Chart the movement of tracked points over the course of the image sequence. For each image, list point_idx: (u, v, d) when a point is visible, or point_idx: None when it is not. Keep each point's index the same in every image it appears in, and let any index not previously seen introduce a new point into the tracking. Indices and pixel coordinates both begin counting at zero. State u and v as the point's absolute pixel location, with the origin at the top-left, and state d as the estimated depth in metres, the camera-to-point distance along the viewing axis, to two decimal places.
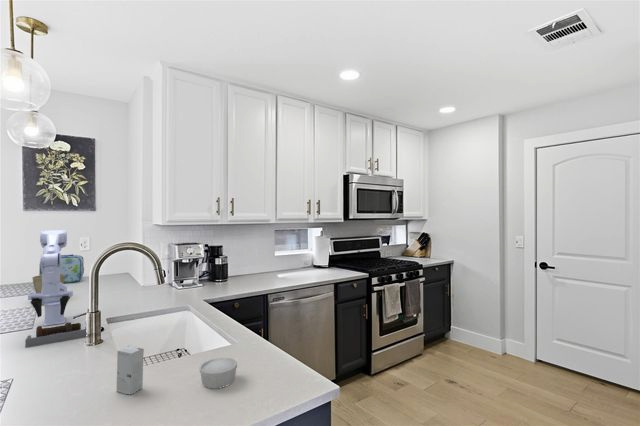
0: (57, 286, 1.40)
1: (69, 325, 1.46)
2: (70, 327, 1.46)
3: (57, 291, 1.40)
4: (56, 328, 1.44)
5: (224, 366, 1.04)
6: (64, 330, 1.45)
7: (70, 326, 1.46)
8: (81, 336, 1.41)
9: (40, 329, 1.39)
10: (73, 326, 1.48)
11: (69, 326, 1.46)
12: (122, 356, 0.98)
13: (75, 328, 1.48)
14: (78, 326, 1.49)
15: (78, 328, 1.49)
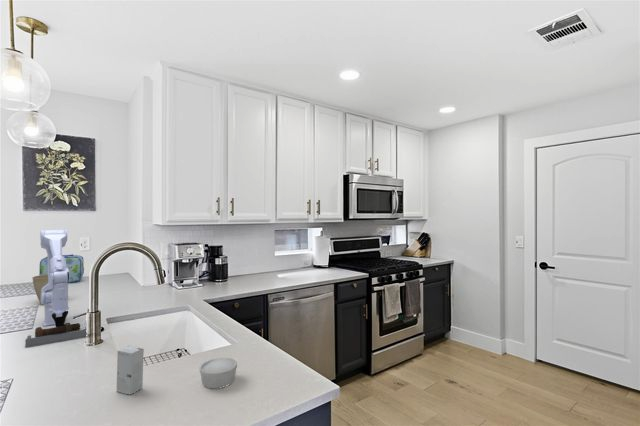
0: (56, 303, 1.45)
1: (69, 325, 1.46)
2: (70, 327, 1.46)
3: (56, 308, 1.45)
4: (56, 329, 1.43)
5: (224, 366, 1.04)
6: (64, 331, 1.45)
7: (70, 326, 1.46)
8: (81, 336, 1.41)
9: (40, 330, 1.38)
10: (73, 326, 1.47)
11: (69, 326, 1.46)
12: (122, 356, 0.98)
13: (75, 328, 1.48)
14: (78, 326, 1.49)
15: (78, 328, 1.49)
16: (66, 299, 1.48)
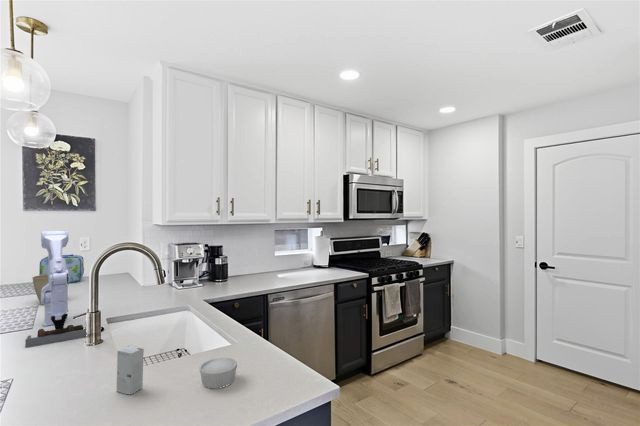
0: (55, 306, 1.41)
1: (72, 327, 1.43)
2: (73, 329, 1.43)
3: (55, 311, 1.41)
4: (58, 331, 1.40)
5: (224, 366, 1.04)
6: None
7: (73, 328, 1.43)
8: (81, 336, 1.41)
9: (42, 332, 1.36)
10: (75, 328, 1.45)
11: (72, 328, 1.43)
12: (122, 356, 0.98)
13: None
14: (81, 328, 1.46)
15: None
16: (66, 301, 1.44)
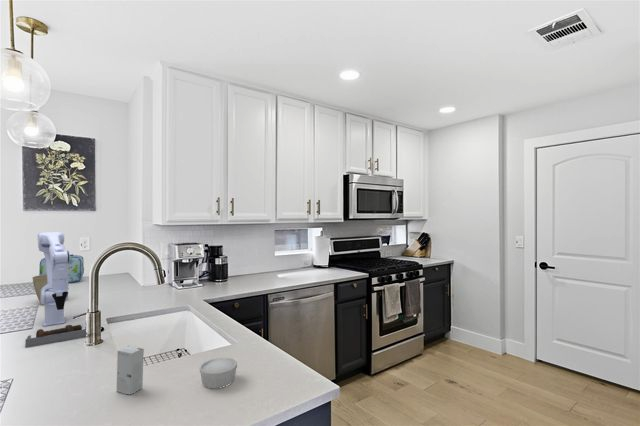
0: (56, 283, 1.47)
1: (70, 327, 1.44)
2: (72, 329, 1.44)
3: (56, 288, 1.47)
4: (57, 331, 1.41)
5: (224, 366, 1.04)
6: (65, 332, 1.42)
7: (72, 328, 1.44)
8: (81, 336, 1.41)
9: (42, 332, 1.36)
10: (74, 328, 1.45)
11: (71, 328, 1.44)
12: (122, 356, 0.98)
13: (76, 330, 1.45)
14: (79, 328, 1.46)
15: None
16: (66, 279, 1.50)
